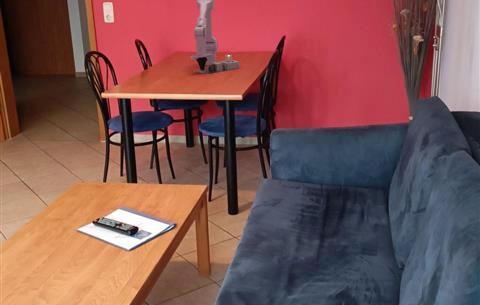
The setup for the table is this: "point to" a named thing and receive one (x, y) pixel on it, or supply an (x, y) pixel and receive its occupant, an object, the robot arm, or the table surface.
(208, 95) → the table surface
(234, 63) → the socket
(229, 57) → the peg
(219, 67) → the pin guide
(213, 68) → the pin
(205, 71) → the base plate
